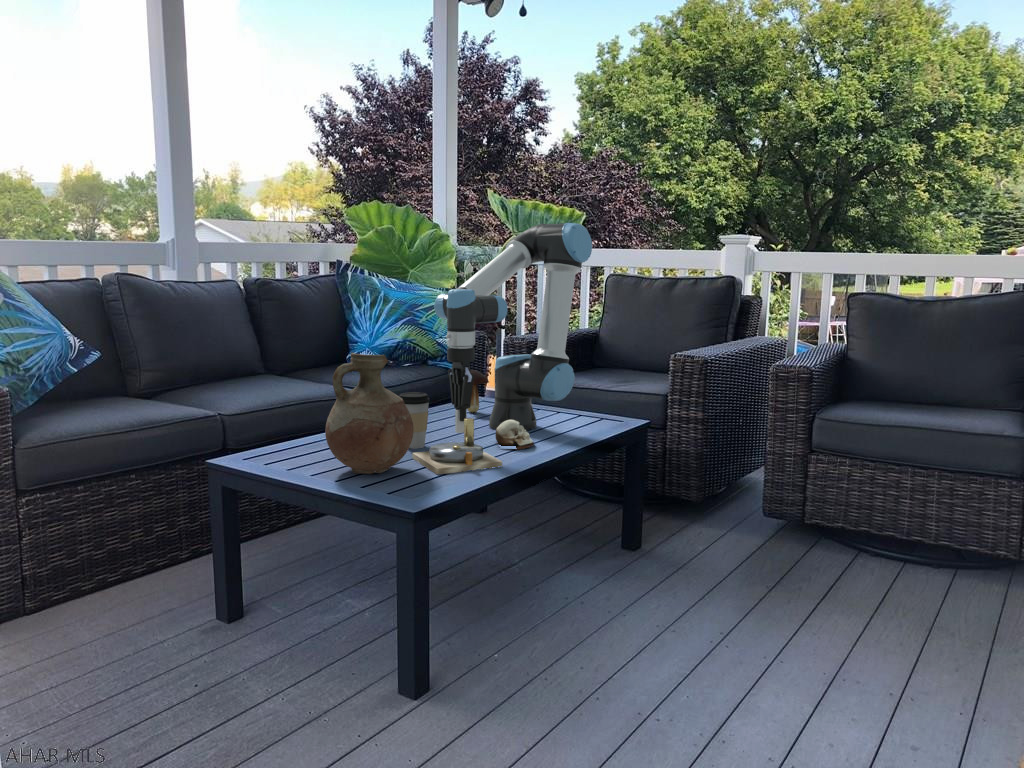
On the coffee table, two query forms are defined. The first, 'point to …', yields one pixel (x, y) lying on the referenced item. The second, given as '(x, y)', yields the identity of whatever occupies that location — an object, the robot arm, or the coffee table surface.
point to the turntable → (458, 447)
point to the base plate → (450, 467)
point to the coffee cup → (417, 416)
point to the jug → (367, 419)
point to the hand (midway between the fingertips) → (460, 432)
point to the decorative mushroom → (476, 390)
